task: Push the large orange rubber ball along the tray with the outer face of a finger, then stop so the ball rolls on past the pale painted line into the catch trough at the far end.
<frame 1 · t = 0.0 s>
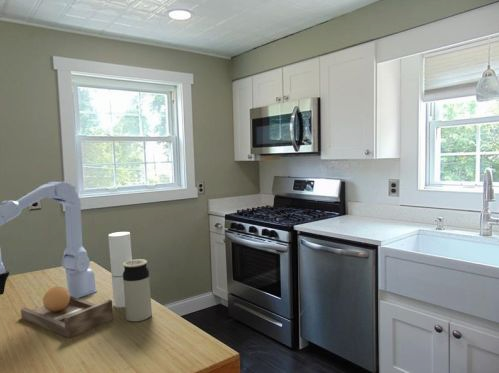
tray: (63, 316, 125), on the counter
cylindrical container: (124, 303, 134), on the counter
ball: (56, 299, 127), point 5 cm above the counter, touching tray
travel mug: (139, 317, 122), on the counter
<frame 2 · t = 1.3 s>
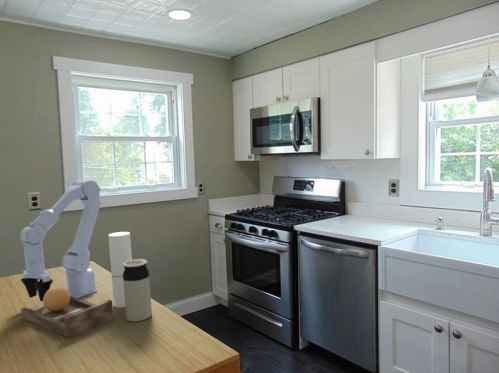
hand: (38, 298, 134), 3 cm above the counter, tool pointing down, fingers open, 7 cm apart
nothing on the counter moved.
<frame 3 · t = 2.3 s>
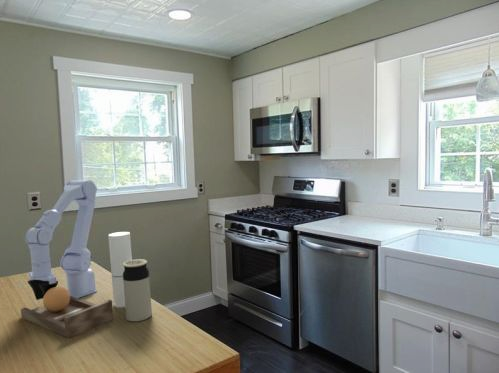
hand: (44, 300, 131), 3 cm above the counter, tool pointing down, fingers open, 6 cm apart
ball: (56, 299, 126), point 5 cm above the counter, touching gripper, tray
everything else where it was.
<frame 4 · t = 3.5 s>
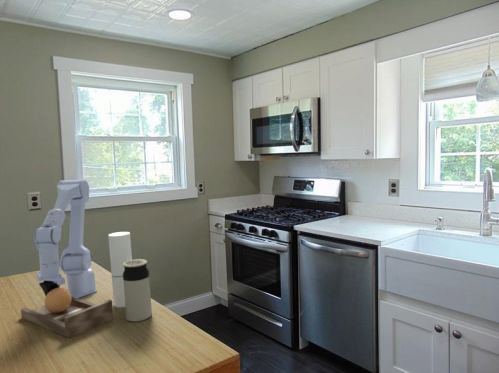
hand: (52, 302, 127), 4 cm above the counter, tool pointing down, fingers closed, pressing on ball
ball: (58, 300, 126), point 5 cm above the counter, tilted 21°, touching gripper, tray
everything else where it was.
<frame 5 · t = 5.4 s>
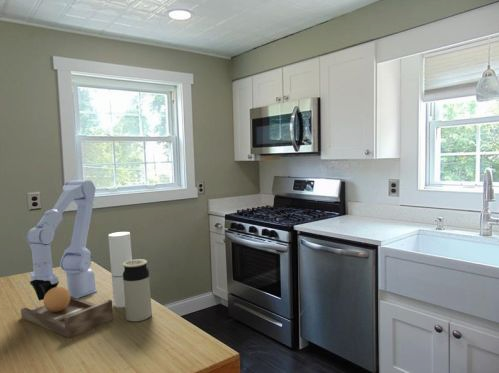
hand: (46, 300, 131), 4 cm above the counter, tool pointing down, fingers open, 5 cm apart
ball: (57, 299, 126), point 5 cm above the counter, tilted 5°, touching gripper, tray
everything else where it was.
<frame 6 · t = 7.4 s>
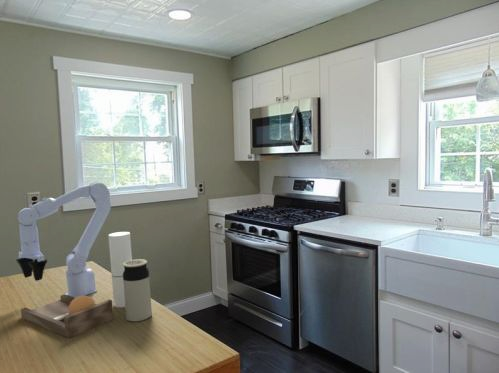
hand: (33, 278, 138), 9 cm above the counter, tool pointing down, fingers open, 7 cm apart
ball: (82, 308, 121), point 4 cm above the counter, tilted 169°, touching tray
everything else where it was.
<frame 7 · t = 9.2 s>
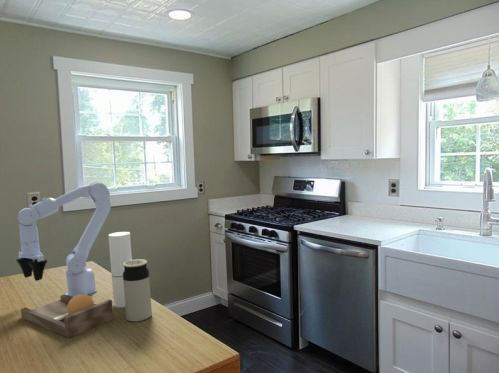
hand: (33, 278, 138), 9 cm above the counter, tool pointing down, fingers open, 7 cm apart
ball: (80, 307, 122), point 4 cm above the counter, tilted 163°, touching tray
everything else where it was.
at the end: ball inside the target area (2.9 cm from its centre), point 4.2 cm above the counter; ball moved 11.3 cm from its start; the gripper is holding nothing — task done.
